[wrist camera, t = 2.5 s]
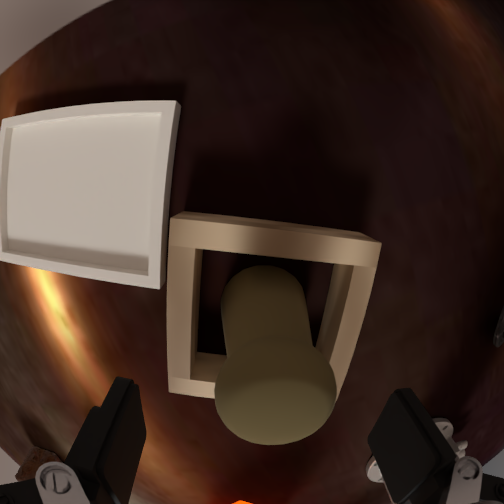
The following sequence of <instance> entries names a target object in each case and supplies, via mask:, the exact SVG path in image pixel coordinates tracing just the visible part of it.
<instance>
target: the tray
mask: <svg viewBox="0 0 504 504" xmlns="http://www.w3.org/2000/svg"><path fill="white" fill-rule="evenodd" d="M180 111H181V106H180V105H179V103H178V102H177V101H125V102H109V103H97V104H87V105H78V106H70V107H63V108H56V109H50V110H44V111H38V112H33V113H28V114H23V115H18V116H14V117H10V118H6V119H2V125H1V131H0V261H5V262H9V263H14V264H18V265H23V266H28V267H33V268H37V269H42V270H47V271H53V272H58V273H63V274H68V275H74V276H79V277H85V278H91V279H97V280H103V281H109V282H115V283H121V284H128V285H134V286H141V287H148V288H155V289H160V288H161V287H162V286H163V284H164V283H165V282H166V252H167V233H168V218H169V204H170V193H171V182H172V172H173V163H174V154H175V146H176V138H177V131H178V124H179V117H180Z"/></svg>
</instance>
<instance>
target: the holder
mask: <svg viewBox="0 0 504 504" xmlns="http://www.w3.org/2000/svg"><path fill="white" fill-rule="evenodd" d="M380 248H381V243H380V242H378V241H376V240H374V239H372V238H370V237H368V236H366V235H364V234H362V233H360V232H353V231H346V230H339V229H332V228H325V227H318V226H310V225H302V224H295V223H287V222H278V221H270V220H262V219H253V218H244V217H235V216H226V215H216V214H206V213H196V212H186V211H183V212H181V213H179V214H177V215H175V216H173V217H171V218H170V230H169V248H168V273H167V357H168V381H169V392H172V393H179V394H185V395H192V396H199V397H207V398H215V394H214V388H215V382H216V379H217V376H218V374H219V371H220V368H221V367H222V365H223V363H224V362H225V360H226V359H227V355H219V354H210V353H202V352H197V341H198V318H199V300H200V283H201V269H202V255H203V249H208V250H217V251H226V252H235V253H244V254H253V255H263V256H272V257H281V258H290V259H300V260H309V261H318V262H327V263H334V267H333V272H332V277H331V282H330V287H329V291H328V296H327V301H326V305H325V310H324V314H323V318H322V323H321V327H320V331H319V335H318V339H317V343H316V347H315V348H317V349H318V350H319V351H320V352H321V353H322V354H323V356H324V357H325V358H326V360H327V361H328V362H329V364H330V365H331V367H332V369H333V372H334V375H335V380H336V385H337V397H336V400H337V398H338V395H339V392H340V390H341V387H342V384H343V381H344V379H345V376H346V373H347V370H348V367H349V364H350V361H351V358H352V355H353V352H354V349H355V346H356V343H357V339H358V336H359V333H360V329H361V326H362V323H363V319H364V315H365V312H366V308H367V304H368V301H369V297H370V293H371V289H372V285H373V280H374V276H375V272H376V267H377V263H378V258H379V253H380ZM335 403H336V401H335Z"/></svg>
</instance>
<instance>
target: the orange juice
mask: <svg viewBox="0 0 504 504" xmlns="http://www.w3.org/2000/svg"><path fill="white" fill-rule="evenodd" d="M233 504H251V503H248V502H244V501H241V500H240V501H238V502H236V503H233Z"/></svg>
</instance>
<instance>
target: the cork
mask: <svg viewBox="0 0 504 504" xmlns="http://www.w3.org/2000/svg"><path fill="white" fill-rule="evenodd" d="M221 315H222V323H223V331H224V338H225V345H226V352H227V359H226V360H225V362H224V363H223V365H222V367H221V368H220V371H219V374H218V376H217V379H216V382H215V388H214V394H215V404H216V408H217V412H218V414H219V416H220V417H221V419H222V421H223V422H224V424H225V425H226V426H227V427H228V428H229V429H230V430H231V431H232V432H233V433H235V434H236V435H237V436H238V437H240V438H242V439H245V440H247V441H250V442H252V443H258V444H264V445H278V444H286V443H290V442H294V441H298V440H300V439H303V438H305V437H307V436H309V435H311V434H313V433H314V432H315V431H316V430H318V429H319V428H320V427H321V426H323V424H324V423H325V422H326V420H327V419H328V417H329V416H330V414H331V412H332V410H333V408H334V405H335V401H336V397H337V385H336V380H335V375H334V372H333V369H332V367H331V365H330V364H329V362H328V361H327V360H326V358H325V357H324V356H323V354H322V353H321V352H320V351H319V350H318V349H317V348H315V347H314V346H313V345H312V338H311V331H310V325H309V318H308V312H307V306H306V299H305V295H304V292H303V288H302V286H301V285H300V283H299V282H298V280H297V279H296V278H295V277H294V276H293V275H292V274H290V273H289V272H287V271H286V270H285V269H282V268H279V267H275V266H272V265H256V266H253V267H250V268H247V269H244V270H242V271H241V272H239V273H238V274H236V275H235V276H233V277H232V278H231V280H230V281H229V282H228V284H227V285H226V286H225V288H224V291H223V294H222V297H221Z"/></svg>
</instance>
